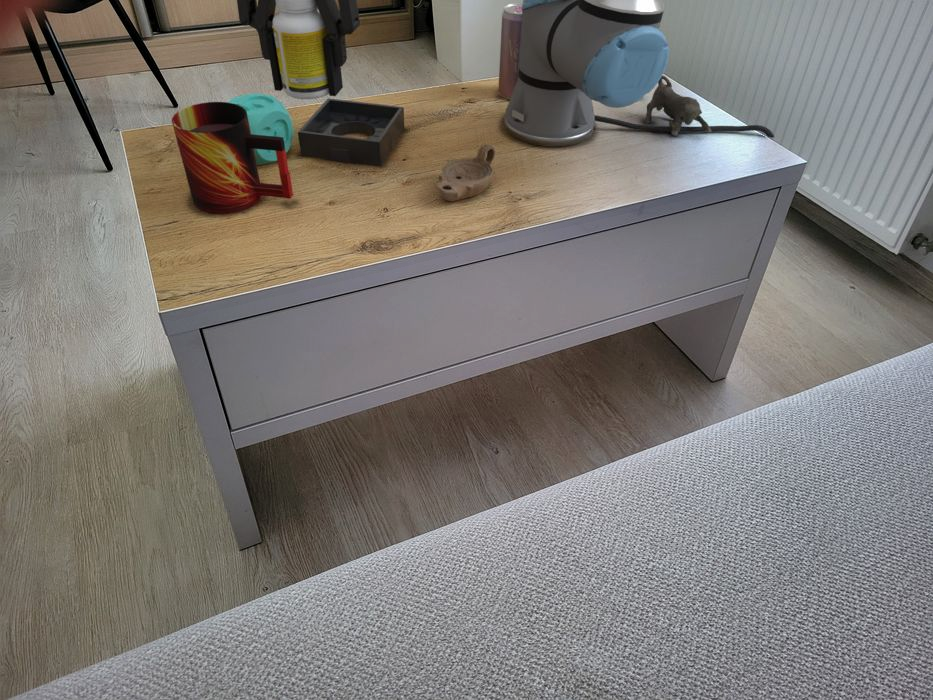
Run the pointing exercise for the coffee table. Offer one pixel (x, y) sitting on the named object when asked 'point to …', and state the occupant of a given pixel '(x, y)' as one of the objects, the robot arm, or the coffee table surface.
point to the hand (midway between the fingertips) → (308, 88)
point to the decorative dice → (266, 122)
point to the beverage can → (510, 49)
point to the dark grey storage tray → (356, 147)
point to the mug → (225, 158)
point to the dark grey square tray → (353, 129)
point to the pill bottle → (301, 48)
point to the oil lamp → (466, 175)
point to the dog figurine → (675, 107)
